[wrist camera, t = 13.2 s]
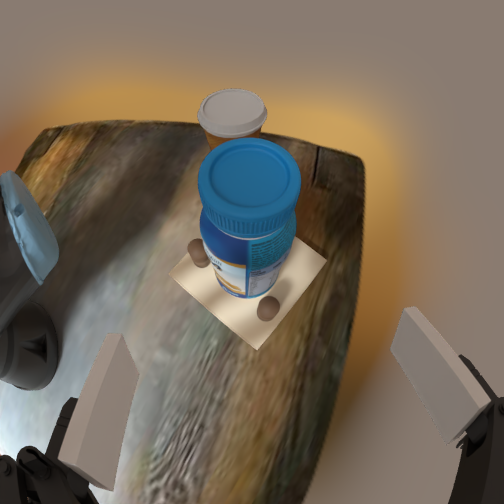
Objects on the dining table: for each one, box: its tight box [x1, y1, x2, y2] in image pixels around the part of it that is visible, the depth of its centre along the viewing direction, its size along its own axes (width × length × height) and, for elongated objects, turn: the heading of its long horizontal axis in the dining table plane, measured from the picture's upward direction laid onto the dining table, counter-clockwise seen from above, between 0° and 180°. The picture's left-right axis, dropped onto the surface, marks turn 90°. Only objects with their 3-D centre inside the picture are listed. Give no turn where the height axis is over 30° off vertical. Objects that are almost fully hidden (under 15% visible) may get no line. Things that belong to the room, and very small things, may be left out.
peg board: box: [168, 236, 327, 350], centre depth 34 cm, size 15×15×6 cm
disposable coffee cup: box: [197, 89, 267, 151], centre depth 38 cm, size 10×10×12 cm
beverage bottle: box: [198, 138, 301, 299], centre depth 26 cm, size 8×8×20 cm
